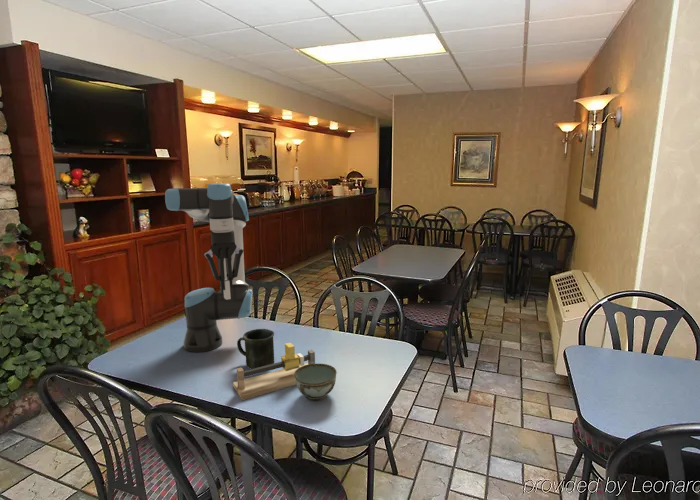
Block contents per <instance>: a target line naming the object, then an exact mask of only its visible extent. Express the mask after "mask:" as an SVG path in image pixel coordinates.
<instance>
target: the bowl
mask: <svg viewBox="0 0 700 500" xmlns="http://www.w3.org/2000/svg"><path fill="white" fill-rule="evenodd" d="M337 373H338V372H337V369H336V368H335V367H334V366H332V365H330V364H326V363H315V364H308V365H304V366H302V367H300V368H298V369H297V370H296V371H295V373H294V376H295V379H296V387H297V389H298V391H299V392H300V393H301V394H302V395H303V396H305V397H306V399H308V400H309V401H312V402H313V401H314V402H316V401H317V402H319V401H321V400H324V399H325V398H326V396H327V395H328V394H330V393H331V391H333V389H334V387H335V385H336V379H337Z"/></svg>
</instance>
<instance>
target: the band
mask: <svg viewBox="0 0 700 500" xmlns="http://www.w3.org/2000/svg"><path fill="white" fill-rule="evenodd" d="M296 355H297V356H298V357H299V359H300V363H299V365H301V366H303V365H304V363H305V361H304V356H305V355H303V354H302V353H300V352H299V353H296Z"/></svg>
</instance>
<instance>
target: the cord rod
mask: <svg viewBox="0 0 700 500" xmlns="http://www.w3.org/2000/svg"><path fill="white" fill-rule="evenodd" d="M303 356H304V362H306V361H307V362H308V360H310V356H309V355H308V354H305V355H303ZM299 363H300V359H299ZM282 367H285V362H284V361H282V362H281V361H278V362H274V364H270V365H266V366H262V367H258V368H254V369H247V370H244V378H246V377H250V376H255V375H259V374H261V373H265V372H269V371H270V372H271V371H273V370H277V369H281V368H282Z"/></svg>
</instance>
